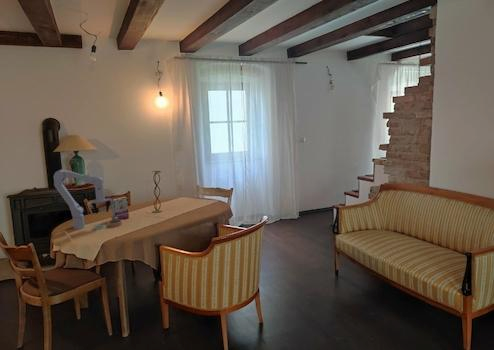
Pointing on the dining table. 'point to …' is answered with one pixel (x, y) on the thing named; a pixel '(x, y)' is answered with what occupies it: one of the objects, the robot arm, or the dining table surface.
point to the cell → (114, 219)
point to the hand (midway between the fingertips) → (101, 212)
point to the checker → (98, 227)
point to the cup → (114, 223)
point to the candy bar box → (120, 208)
